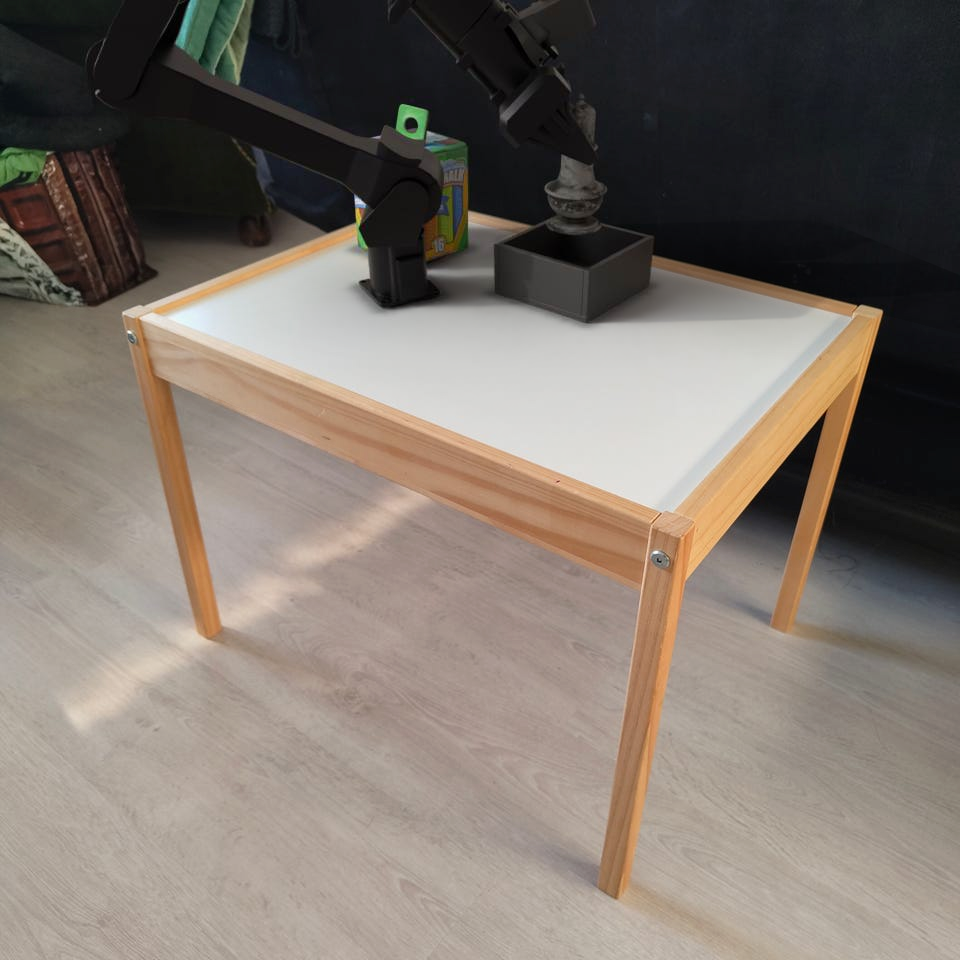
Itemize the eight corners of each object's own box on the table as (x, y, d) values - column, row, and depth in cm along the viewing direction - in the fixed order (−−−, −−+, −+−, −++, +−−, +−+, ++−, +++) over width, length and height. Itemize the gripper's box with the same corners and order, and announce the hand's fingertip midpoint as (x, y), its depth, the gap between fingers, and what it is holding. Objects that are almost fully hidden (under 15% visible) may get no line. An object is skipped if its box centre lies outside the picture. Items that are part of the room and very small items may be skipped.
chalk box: (356, 248, 100) (342, 109, 92) (419, 228, 105) (412, 94, 97) (408, 271, 95) (398, 125, 86) (472, 248, 100) (469, 108, 91)
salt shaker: (616, 224, 86) (628, 92, 79) (577, 240, 83) (585, 103, 76) (570, 210, 90) (577, 82, 83) (530, 225, 86) (534, 92, 79)
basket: (494, 293, 90) (493, 243, 87) (560, 259, 97) (561, 212, 94) (586, 323, 84) (589, 271, 81) (649, 285, 91) (654, 236, 88)
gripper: (547, -43, 65) (679, 115, 72) (535, -65, 80) (645, 67, 87) (442, 74, 70) (575, 213, 76) (450, 32, 85) (560, 151, 91)
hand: (592, 155), depth 82 cm, fingers closed on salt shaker, 3 cm apart
